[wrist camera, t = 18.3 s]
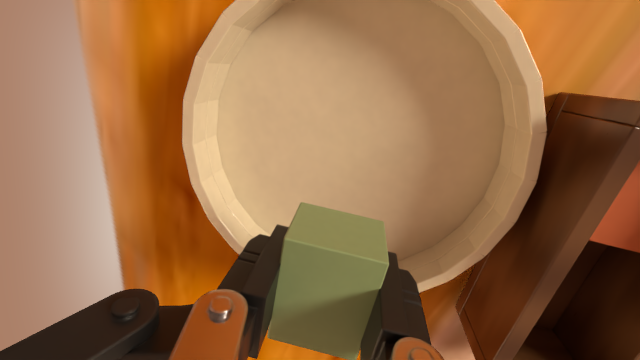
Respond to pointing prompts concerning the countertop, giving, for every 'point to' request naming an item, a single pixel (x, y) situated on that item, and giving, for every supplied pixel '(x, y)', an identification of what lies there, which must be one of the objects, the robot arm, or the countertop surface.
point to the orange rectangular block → (622, 217)
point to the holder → (564, 249)
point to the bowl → (368, 123)
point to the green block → (328, 280)
